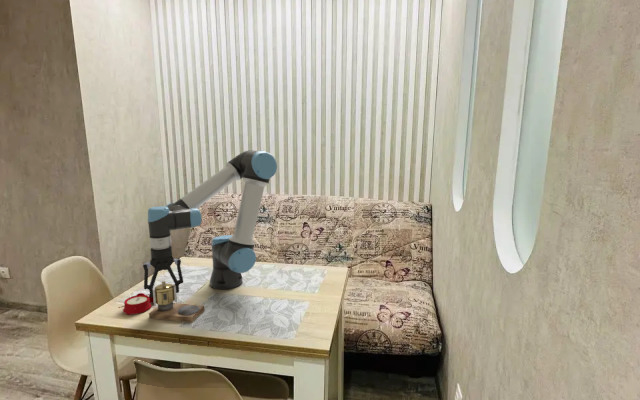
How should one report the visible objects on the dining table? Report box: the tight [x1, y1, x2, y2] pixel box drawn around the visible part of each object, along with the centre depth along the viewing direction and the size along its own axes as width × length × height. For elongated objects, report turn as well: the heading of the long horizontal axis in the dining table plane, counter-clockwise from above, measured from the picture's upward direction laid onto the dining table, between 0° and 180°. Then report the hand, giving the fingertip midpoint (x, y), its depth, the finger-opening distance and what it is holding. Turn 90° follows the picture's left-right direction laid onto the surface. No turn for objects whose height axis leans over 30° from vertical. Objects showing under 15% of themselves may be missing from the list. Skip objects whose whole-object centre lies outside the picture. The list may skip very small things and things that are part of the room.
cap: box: [155, 281, 175, 306], centre depth 146 cm, size 7×7×7 cm
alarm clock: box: [118, 292, 154, 316], centre depth 152 cm, size 10×6×15 cm
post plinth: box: [148, 301, 206, 323], centre depth 146 cm, size 18×10×10 cm, turn 79°
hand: (165, 302), depth 147 cm, fingers closed on cap, 7 cm apart
